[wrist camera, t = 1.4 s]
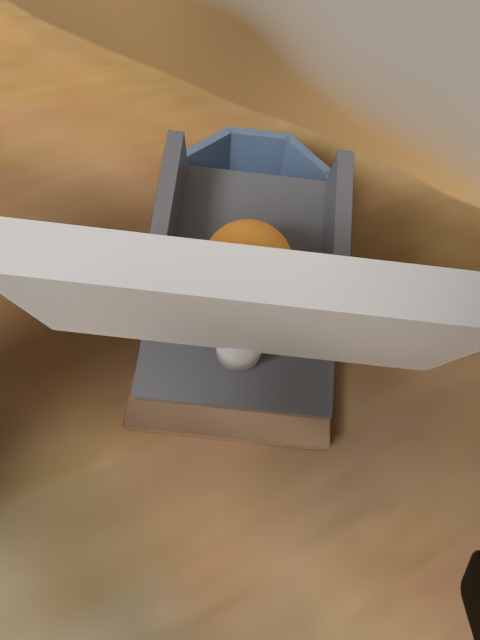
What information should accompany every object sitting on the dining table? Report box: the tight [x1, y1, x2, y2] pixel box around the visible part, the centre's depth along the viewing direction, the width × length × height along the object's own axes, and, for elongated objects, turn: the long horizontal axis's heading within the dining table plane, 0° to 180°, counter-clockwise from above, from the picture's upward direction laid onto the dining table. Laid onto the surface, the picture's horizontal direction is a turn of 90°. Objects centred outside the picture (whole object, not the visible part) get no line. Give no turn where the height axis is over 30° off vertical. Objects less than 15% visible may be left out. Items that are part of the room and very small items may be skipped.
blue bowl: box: [186, 127, 331, 181], centre depth 26 cm, size 9×9×4 cm
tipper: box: [0, 130, 480, 420], centre depth 13 cm, size 10×11×8 cm
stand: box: [123, 341, 330, 451], centre depth 20 cm, size 8×11×7 cm
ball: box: [210, 219, 291, 250], centre depth 15 cm, size 3×3×3 cm
